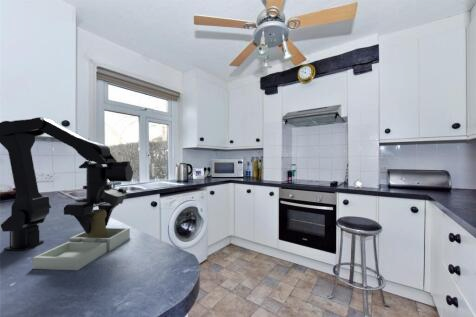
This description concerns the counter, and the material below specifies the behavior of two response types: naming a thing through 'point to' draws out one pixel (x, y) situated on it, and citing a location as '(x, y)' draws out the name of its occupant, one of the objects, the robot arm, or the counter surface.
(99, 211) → the cork
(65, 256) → the lid
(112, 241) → the case
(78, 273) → the counter surface
